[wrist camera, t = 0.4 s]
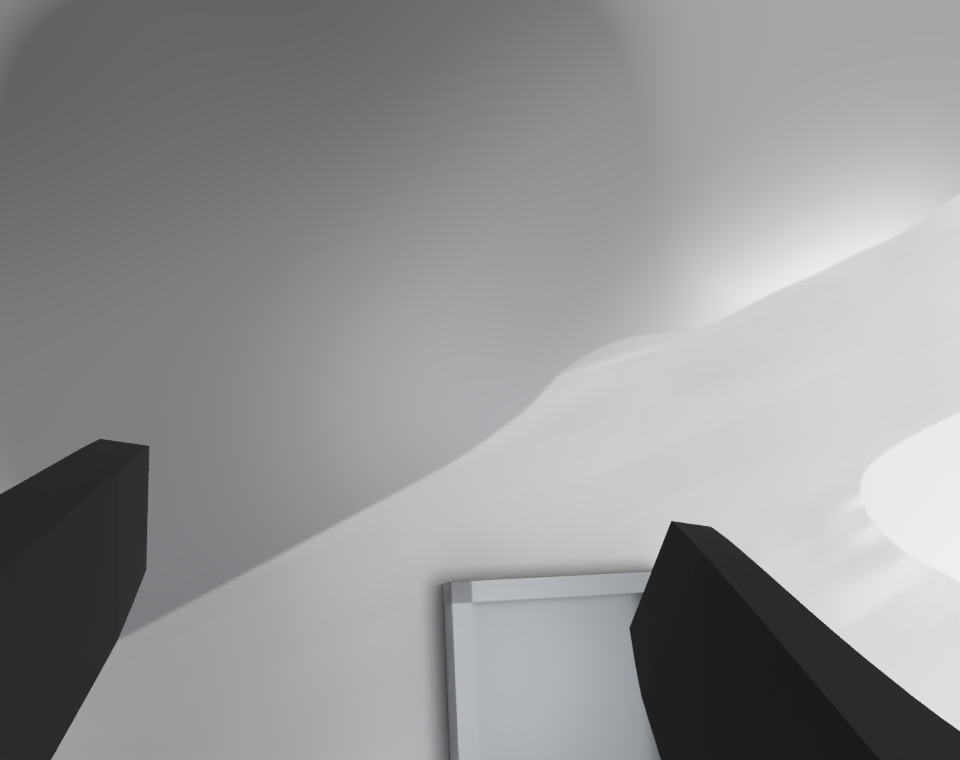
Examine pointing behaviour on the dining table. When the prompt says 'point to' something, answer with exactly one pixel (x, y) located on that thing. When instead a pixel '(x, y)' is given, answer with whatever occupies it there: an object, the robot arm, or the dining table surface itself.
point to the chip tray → (545, 669)
